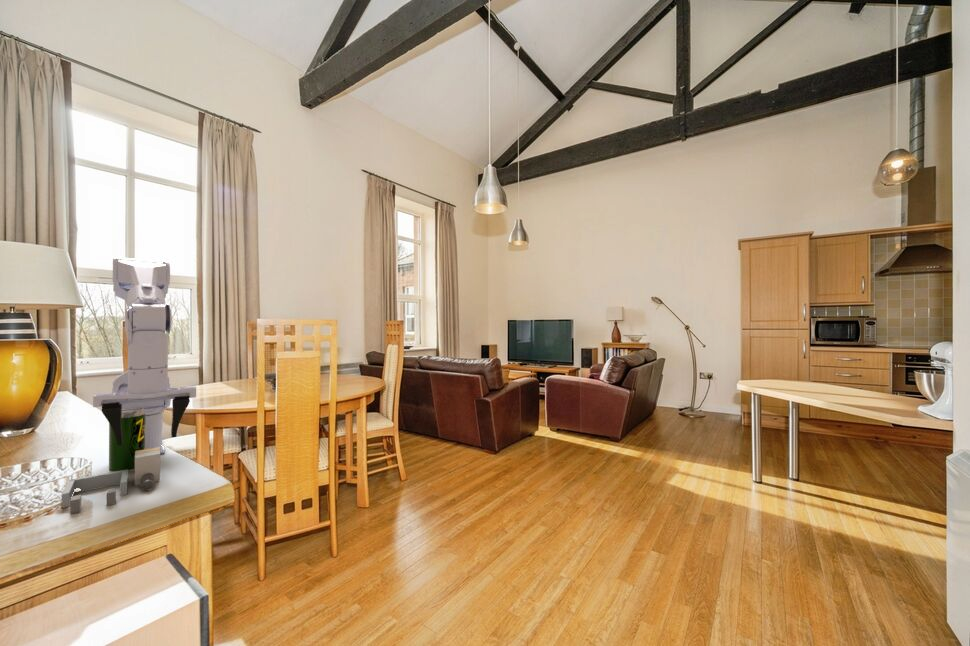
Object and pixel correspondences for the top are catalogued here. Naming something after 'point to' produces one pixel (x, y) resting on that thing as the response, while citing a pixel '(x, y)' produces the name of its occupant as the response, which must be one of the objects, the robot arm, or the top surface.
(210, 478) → the top surface
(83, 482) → the grey holder frame
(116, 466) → the beer can
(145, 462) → the connector
